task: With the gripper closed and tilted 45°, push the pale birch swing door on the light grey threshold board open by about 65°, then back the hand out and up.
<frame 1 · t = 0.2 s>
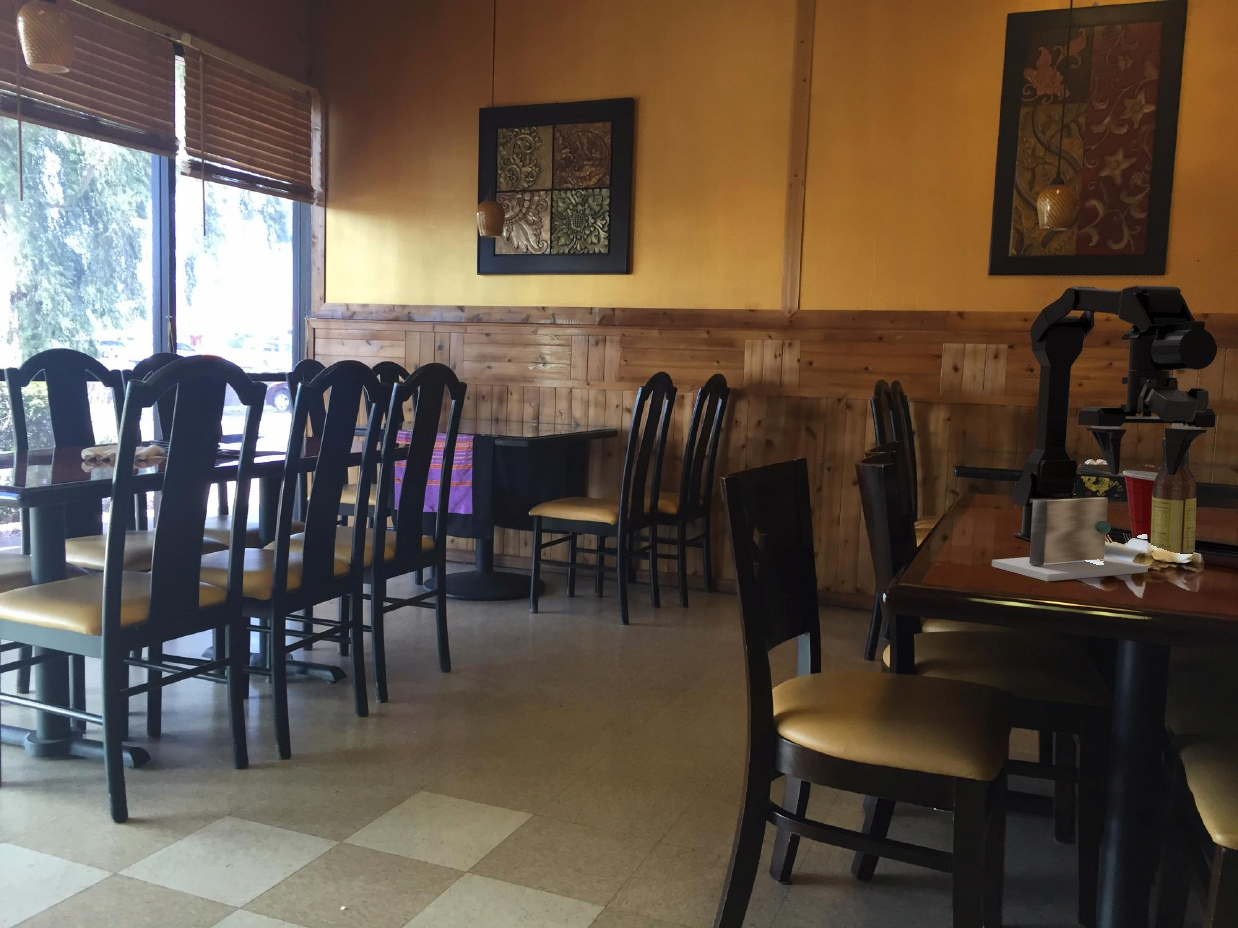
hand: (1143, 474, 148), 15 cm above the table, tool pointing down, fingers open, 9 cm apart
plastic cup: (1151, 539, 180), on the table
threshold board: (1068, 569, 150), on the table
door: (1072, 531, 149), point 6 cm above the table, hinge at 0.0°
sauce bottle: (1170, 562, 158), on the table
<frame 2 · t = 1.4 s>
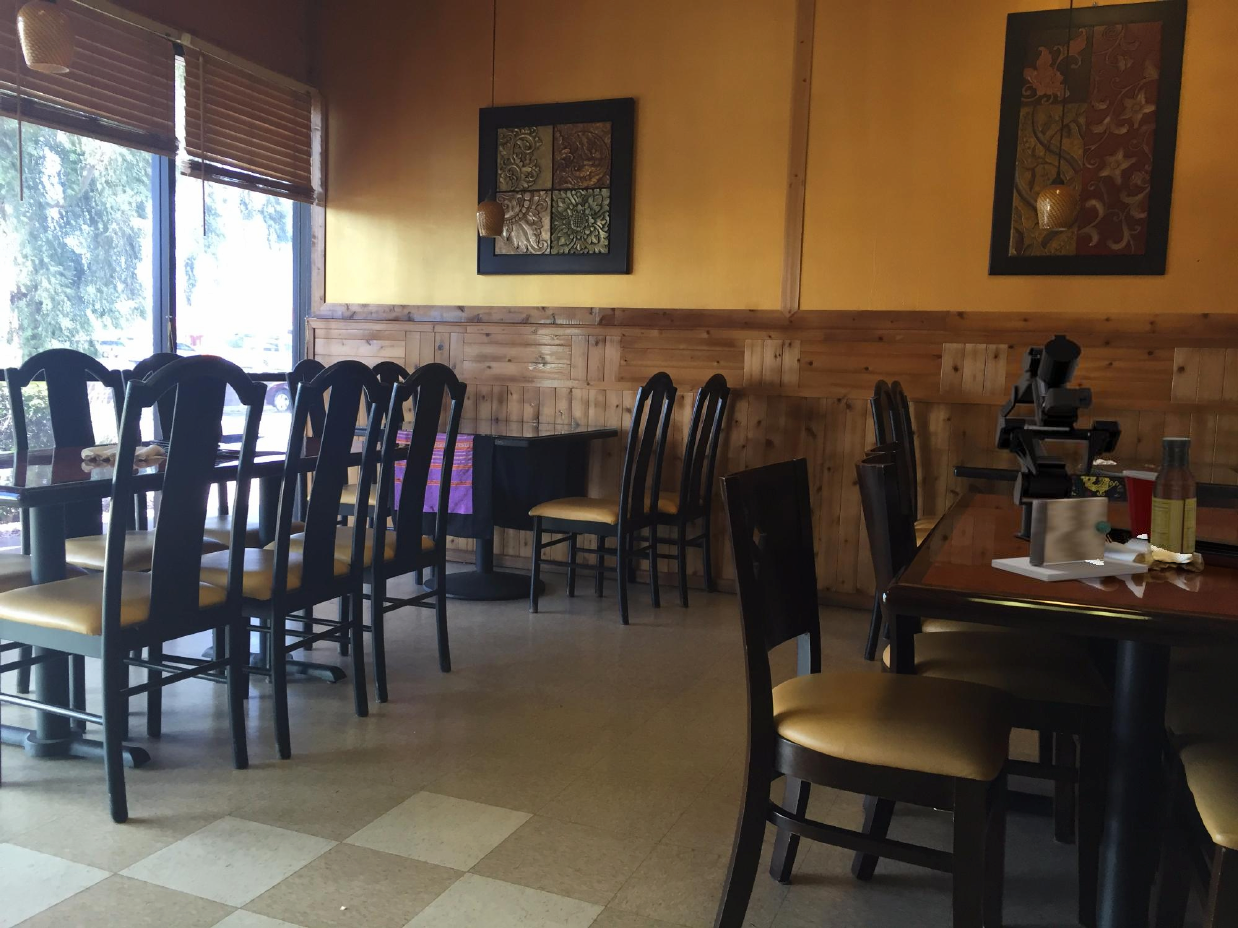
hand: (1062, 474, 160), 13 cm above the table, tool tilted 45°, fingers open, 8 cm apart
nothing on the table moved.
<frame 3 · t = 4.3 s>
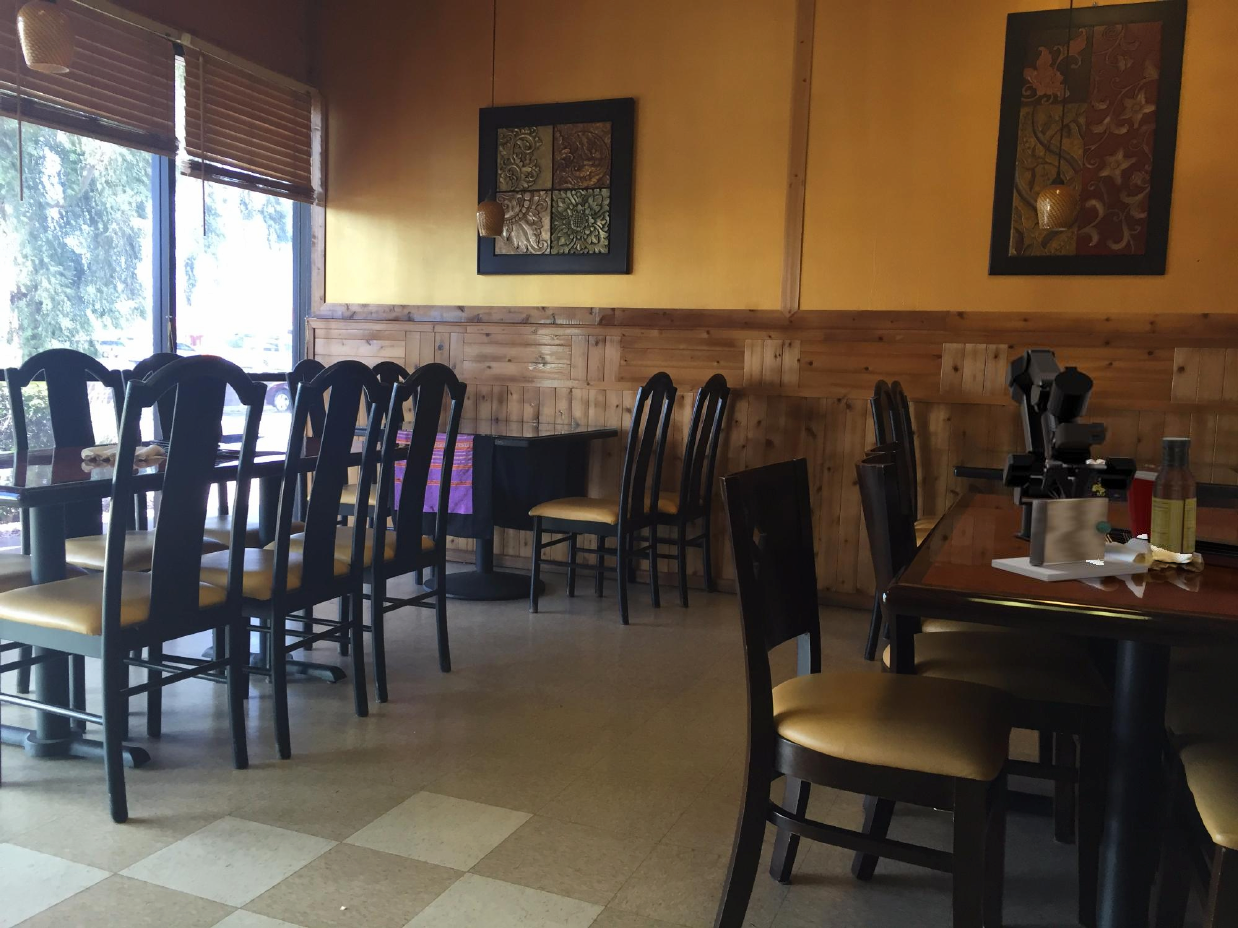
hand: (1074, 514, 151), 8 cm above the table, tool tilted 45°, fingers closed
door: (1073, 531, 149), point 6 cm above the table, hinge at 0.4°, touching gripper
everything else where it was.
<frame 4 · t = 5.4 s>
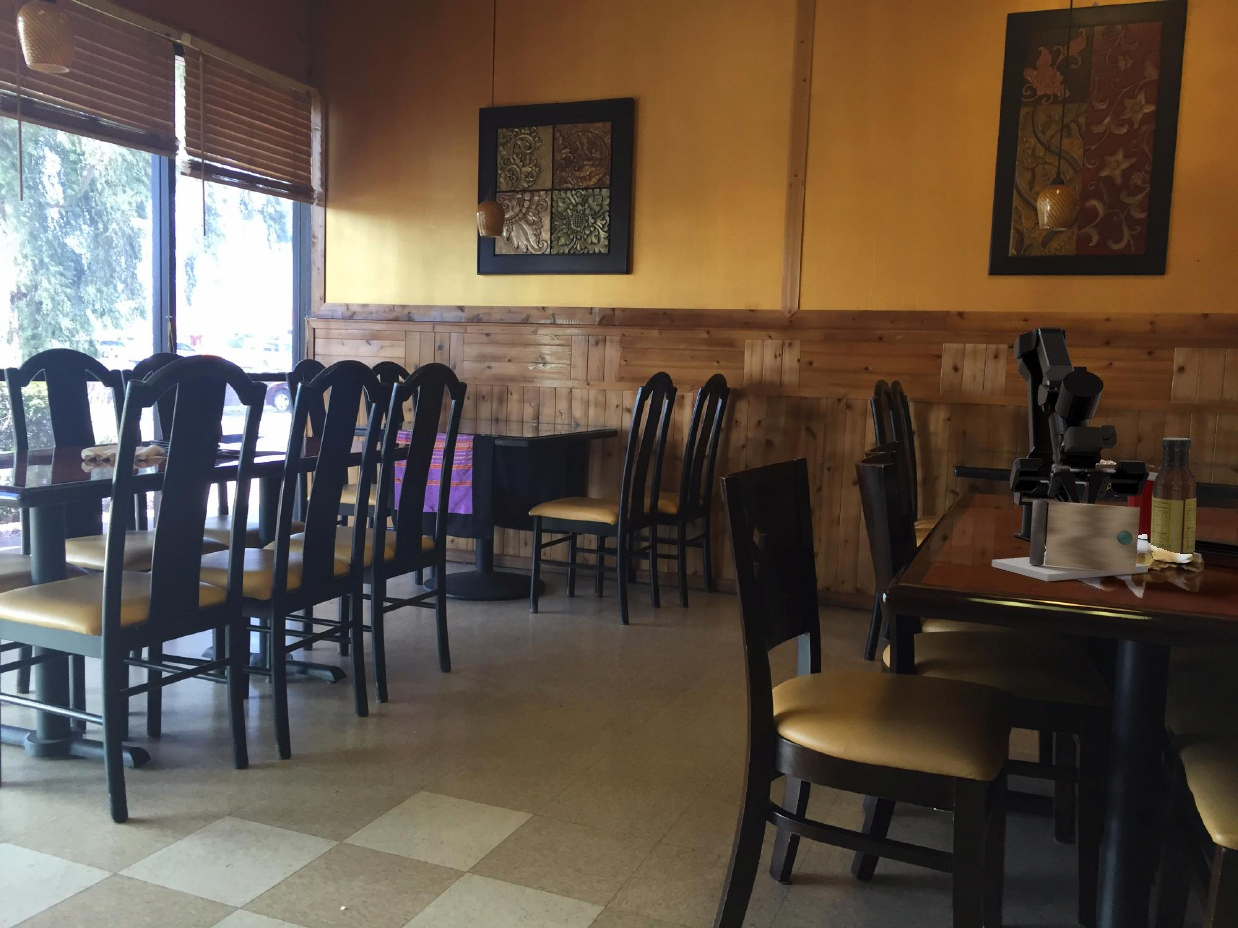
hand: (1084, 521, 145), 8 cm above the table, tool tilted 45°, fingers closed
door: (1083, 536, 144), point 6 cm above the table, hinge at 47.8°, touching gripper
everything else where it was.
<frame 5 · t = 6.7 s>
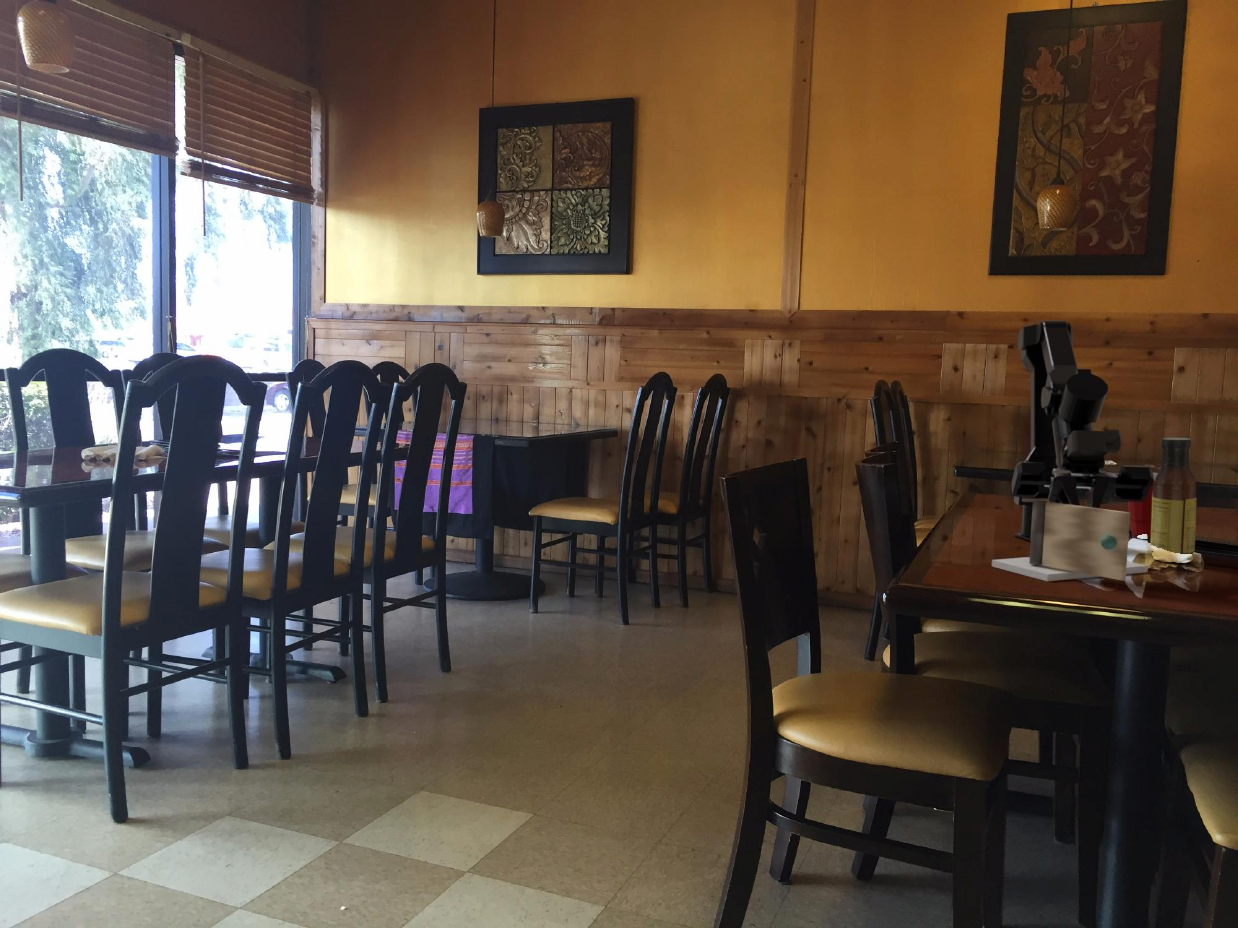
hand: (1087, 527, 142), 8 cm above the table, tool tilted 45°, fingers closed
door: (1074, 539, 142), point 6 cm above the table, hinge at 76.8°, touching gripper
everything else where it was.
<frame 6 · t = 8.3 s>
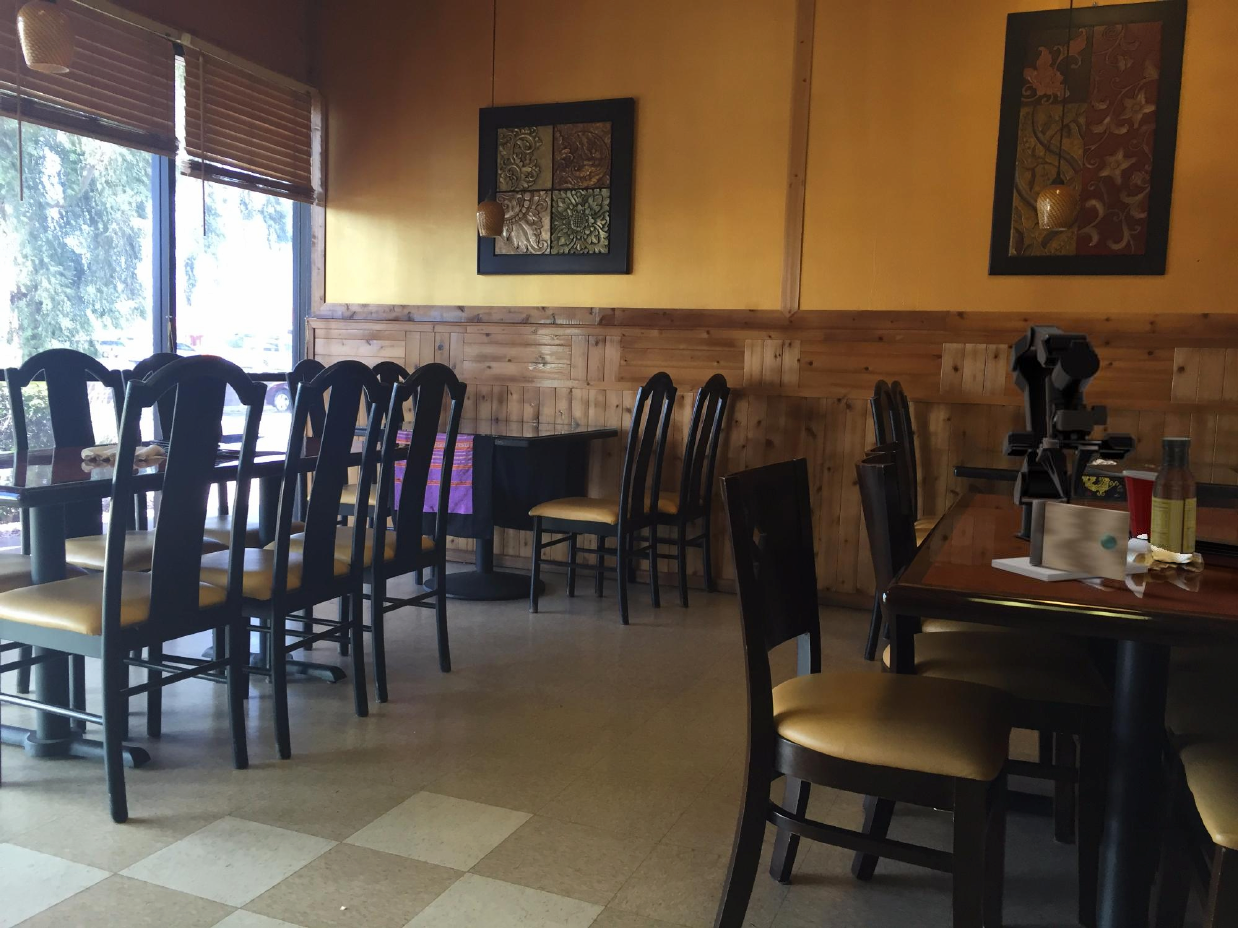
hand: (1068, 496, 155), 11 cm above the table, tool tilted 25°, fingers closed
door: (1074, 539, 142), point 6 cm above the table, hinge at 76.8°
everything else where it was.
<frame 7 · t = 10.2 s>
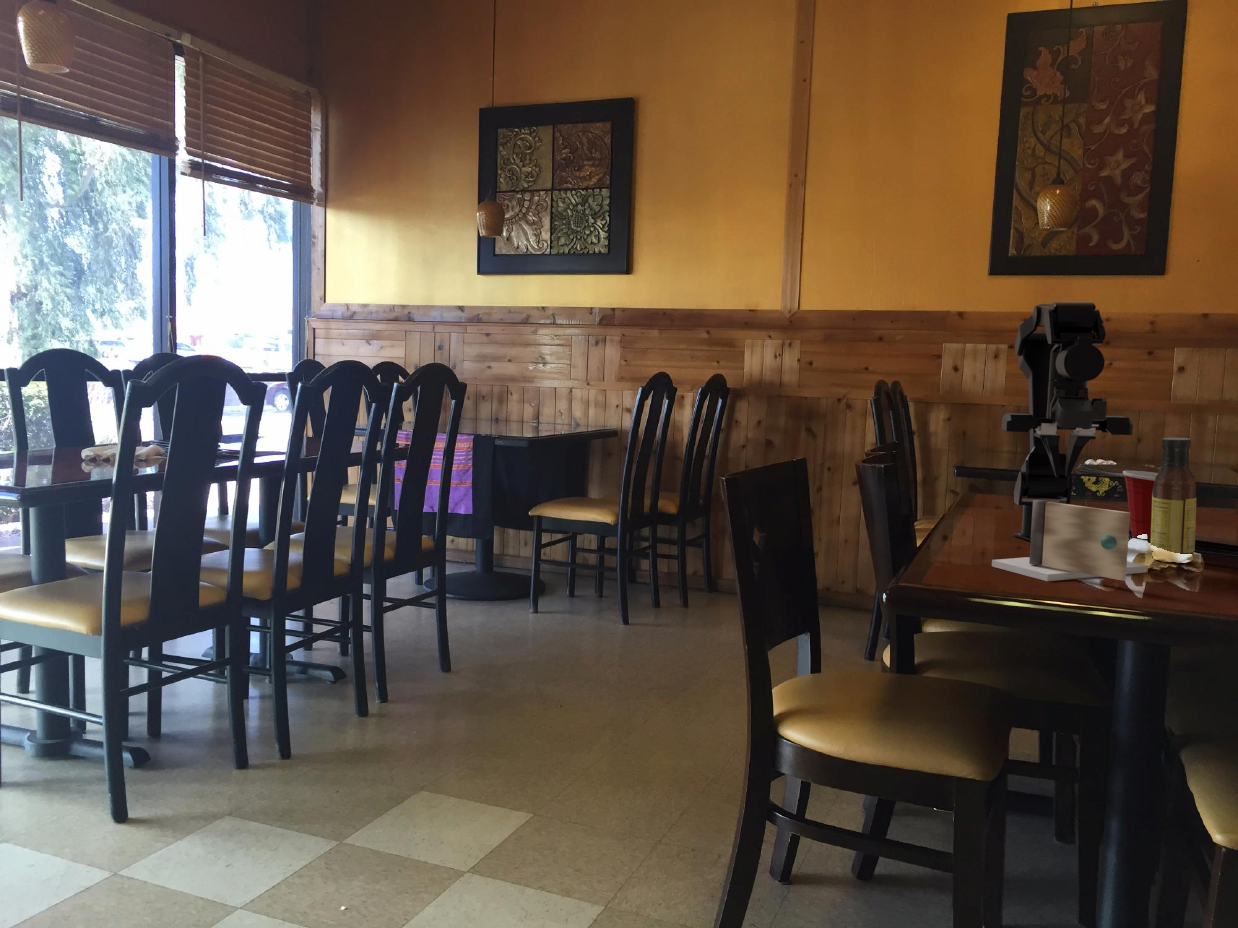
hand: (1062, 477, 160), 13 cm above the table, tool pointing down, fingers closed
nothing on the table moved.
at the end: door at +77° (first picture: +0°); sauce bottle moved 0.2 cm from its start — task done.
